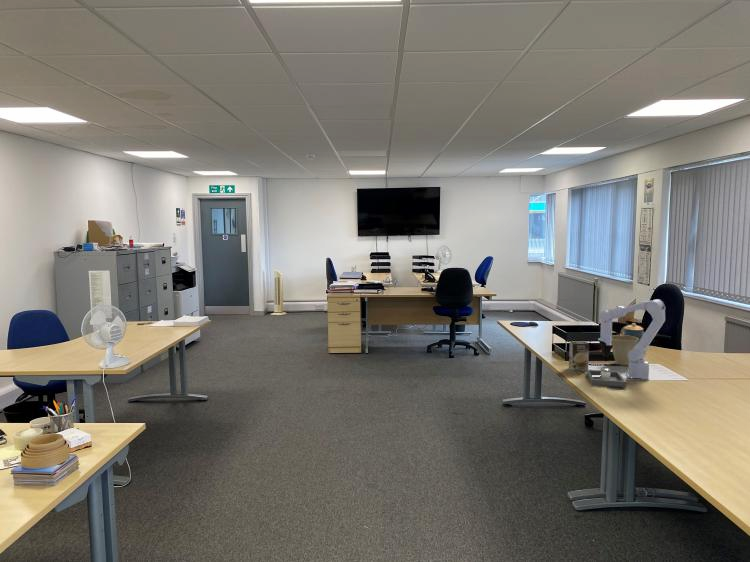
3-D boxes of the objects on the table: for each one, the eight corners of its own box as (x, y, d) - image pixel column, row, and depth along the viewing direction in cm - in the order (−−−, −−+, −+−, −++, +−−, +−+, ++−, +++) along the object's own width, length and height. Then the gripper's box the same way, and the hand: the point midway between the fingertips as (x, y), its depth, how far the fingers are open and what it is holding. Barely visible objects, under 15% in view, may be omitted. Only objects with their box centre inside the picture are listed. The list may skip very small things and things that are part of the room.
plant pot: (604, 360, 291) (605, 335, 290) (629, 360, 291) (630, 334, 289) (616, 367, 276) (617, 340, 275) (642, 367, 276) (643, 340, 274)
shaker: (609, 379, 254) (609, 368, 254) (610, 381, 250) (611, 370, 249) (599, 378, 256) (600, 367, 255) (601, 381, 251) (601, 370, 250)
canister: (626, 345, 327) (627, 320, 325) (647, 348, 317) (648, 322, 315) (618, 348, 319) (619, 323, 317) (639, 352, 309) (640, 325, 307)
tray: (618, 376, 259) (618, 371, 259) (625, 387, 242) (626, 381, 242) (586, 375, 264) (586, 369, 263) (591, 385, 246) (592, 379, 246)
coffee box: (571, 371, 271) (572, 343, 270) (568, 367, 278) (569, 341, 276) (588, 371, 270) (589, 343, 269) (584, 368, 277) (585, 341, 275)
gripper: (596, 328, 276) (595, 351, 277) (600, 333, 262) (600, 357, 263) (609, 329, 274) (608, 352, 275) (614, 334, 260) (614, 358, 261)
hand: (605, 354), depth 269 cm, fingers open, 7 cm apart
